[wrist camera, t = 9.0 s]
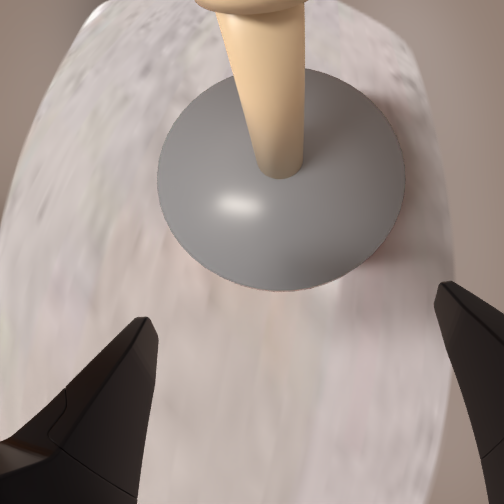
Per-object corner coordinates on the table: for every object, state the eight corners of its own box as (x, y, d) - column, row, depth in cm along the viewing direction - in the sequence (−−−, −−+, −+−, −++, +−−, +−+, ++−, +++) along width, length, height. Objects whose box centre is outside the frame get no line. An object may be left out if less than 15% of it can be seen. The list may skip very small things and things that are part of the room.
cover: (442, 198, 16) (579, 62, 4) (247, 343, 16) (116, 420, 4) (301, 51, 20) (292, -108, 7) (131, 154, 20) (5, 24, 7)
